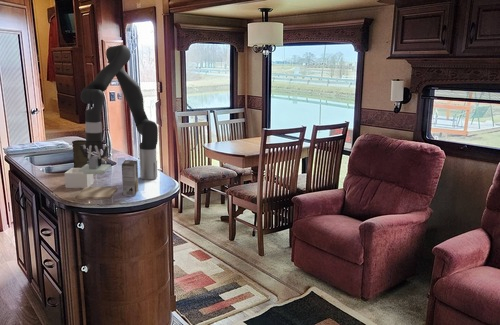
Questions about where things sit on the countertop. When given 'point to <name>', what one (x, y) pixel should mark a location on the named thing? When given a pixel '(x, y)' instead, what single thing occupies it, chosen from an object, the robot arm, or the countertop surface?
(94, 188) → the board
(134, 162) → the coffee box
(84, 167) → the lid
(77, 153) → the container
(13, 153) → the countertop surface
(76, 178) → the bin
